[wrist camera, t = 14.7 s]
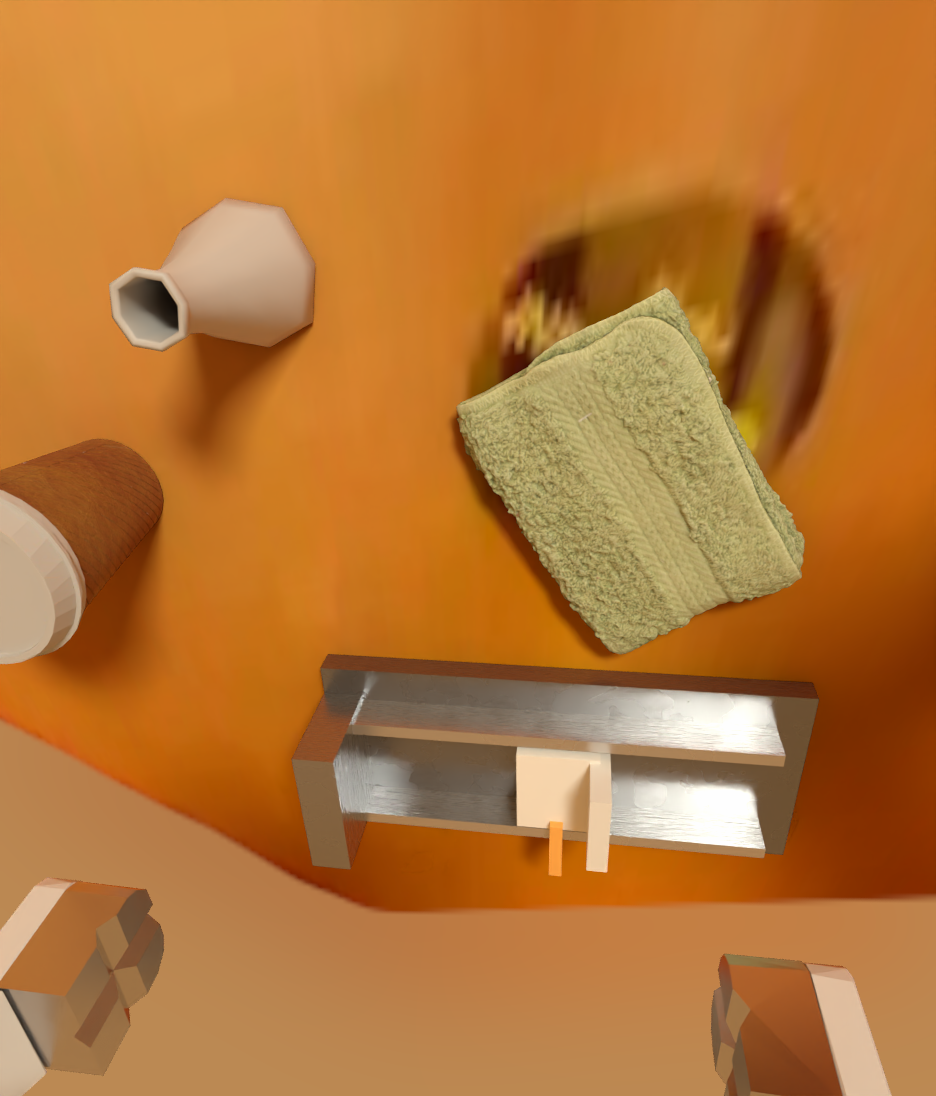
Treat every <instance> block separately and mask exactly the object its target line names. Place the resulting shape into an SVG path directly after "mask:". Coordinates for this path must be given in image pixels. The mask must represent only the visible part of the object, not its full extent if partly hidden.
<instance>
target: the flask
mask: <svg viewBox="0 0 936 1096" xmlns="http://www.w3.org/2000/svg"><path fill="white" fill-rule="evenodd" d="M314 282H315V262H314V261H313V259H312V257H311V256H310V254H309V252H308V250H307V249H306V247H305V245H304V244H303V242H302V240H301V238H300V237H299V235H298V233H297V231H296V230H295V228H294V226H293V225H292V223H291V221H290V219H289V218H288V216H287V214H286V213H285V211H284V209H283V208H282V207H276V206H270V205H264V204H258V203H252V202H246V201H241V200H235V199H229V198H225V199H224V200H222V201H221V202H219V203H218V204H216V205H215V206H214V207H212V208H211V209H209V210H208V211H206V212H205V213H203V214H202V215H201V216H199V217H198V218H196V219H195V220H193V221H192V222H191V223H189V224H188V225H186V226H185V227H183V228H182V230H181V231H180V233H179V235H178V237H177V239H176V241H175V243H174V246H173V248H172V250H171V252H170V253H169V255H168V257H167V258H166V260H165V261H164V263H163V265H162V266H161V268H160V269H159V270H149V269H144V268H138V267H134V268H132V269H130V270H129V271H127V272H126V273H125V274H123V275H122V276H120V277H119V278H117V279H116V280H114V281H113V282H112V283H110V284H109V289H110V300H111V310H112V318H113V319H114V321H115V322H116V323H117V325H118V326H119V328H120V329H121V331H122V332H123V333H124V335H125V336H126V338H127V339H128V341H129V342H130V343H131V345H132V346H135V347H140V348H145V349H151V350H156V351H162V352H163V351H165V350H167V349H169V348H170V347H172V346H173V345H175V344H177V343H178V342H180V341H181V340H183V339H185V338H186V337H188V336H189V335H190V334H193V333H203V334H206V335H209V336H212V337H216V338H221V339H227V340H232V341H237V342H243V343H248V344H254V345H259V346H265V347H271V346H273V345H275V344H277V343H278V342H280V341H282V340H283V339H285V338H287V337H288V336H290V335H292V334H294V333H295V332H297V331H299V330H300V329H302V328H304V327H305V326H307V325H309V324H311V323H312V322H313V308H314Z"/></svg>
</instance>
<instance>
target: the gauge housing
mask: <svg viewBox="0 0 936 1096" xmlns="http://www.w3.org/2000/svg"><path fill="white" fill-rule="evenodd" d="M321 674H322V680H323V686H324V695H323V697H322V699H321V701H320V703H319V705H318V707H317V709H316V711H315V713H314V715H313V717H312V719H311V721H310V723H309V725H308V727H307V729H306V731H305V733H304V735H303V737H302V739H301V741H300V743H299V745H298V747H297V749H296V751H295V753H294V755H293V757H292V764H293V769H294V774H295V779H296V784H297V789H298V794H299V799H300V804H301V809H302V814H303V819H304V824H305V829H306V834H307V839H308V844H309V849H310V854H311V859H312V864H313V866H322V867H331V868H341V869H351V867H352V864H353V861H354V858H355V856H356V853H357V850H358V847H359V844H360V841H361V838H362V835H363V832H364V829H365V826H366V823H367V821H370V822H381V823H392V824H403V825H413V826H424V827H435V828H445V829H456V830H467V831H477V832H488V833H499V834H510V835H520V836H531V837H542V838H550V829H546V828H535V827H524V826H517V782H516V753H517V747H530V748H543V749H556V750H569V751H583V752H596V753H609V754H610V757H611V790H612V809H611V823H610V837H609V844H617V845H627V846H638V847H649V848H659V849H670V850H681V851H692V852H702V853H713V854H724V855H734V856H745V857H756V858H764V855H765V853H768V854H779V855H783V853H784V849H785V844H786V840H787V836H788V832H789V827H790V823H791V819H792V814H793V810H794V806H795V801H796V797H797V793H798V788H799V784H800V780H801V776H802V771H803V767H804V763H805V758H806V754H807V750H808V745H809V741H810V737H811V733H812V728H813V724H814V720H815V715H816V711H817V707H818V702H819V697H818V695H817V692H816V690H815V688H814V685H813V683H807V682H790V681H773V680H756V679H739V678H722V677H705V676H688V675H671V674H654V673H637V672H620V671H603V670H586V669H569V668H552V667H535V666H518V665H501V664H484V663H467V662H451V661H434V660H417V659H400V658H383V657H366V656H349V655H332V654H328V655H327V657H326V659H325V661H324V663H323V664H322V666H321ZM562 839H563V840H574V841H585V842H587V832H579V831H568V830H563V835H562Z"/></svg>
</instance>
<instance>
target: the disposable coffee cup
mask: <svg viewBox="0 0 936 1096" xmlns="http://www.w3.org/2000/svg"><path fill="white" fill-rule="evenodd" d="M162 508H163V495H162V489H161V486H160V483H159V481H158V479H157V477H156V475H155V473H154V471H153V470H152V469H151V468H150V466H149V465H148V464H147V462H146V461H145V460H144V459H143V458H141V457H140V456H139V455H138V454H137V453H136V452H134V451H133V450H132V449H130V448H128V447H126V446H124V445H122V444H120V443H117V442H115V441H111V440H104V439H91V440H88V441H85V442H82V443H80V444H77V445H74V446H71V447H68V448H65V449H62V450H59V451H56V452H53V453H50V454H47V455H44V456H41V457H38V458H35V459H32V460H30V461H27V462H24V463H21V464H18V465H15V466H12V467H9V468H6V469H3V470H0V664H12V663H18V662H23V661H26V660H28V659H31V658H33V657H36V656H40V655H45V654H48V653H51V652H53V651H55V650H57V649H59V648H60V647H62V646H63V645H64V644H65V643H66V642H67V641H68V640H69V639H70V638H71V637H72V636H73V634H74V633H75V632H76V630H77V629H78V626H79V623H80V620H81V617H82V614H83V611H84V610H85V609H86V607H87V605H88V604H90V603H91V601H92V600H93V598H94V597H96V595H97V594H98V592H99V590H101V589H102V588H103V587H104V585H105V584H106V583H107V582H108V580H109V579H110V578H111V577H112V576H113V574H114V573H115V571H117V570H118V568H119V567H120V565H121V564H122V563H123V562H124V561H125V559H126V558H127V557H128V556H129V555H130V553H131V552H132V551H133V550H134V548H135V547H136V546H137V545H138V544H139V542H140V541H141V540H142V539H143V537H144V536H145V535H146V534H147V533H148V531H149V530H150V529H151V528H152V527H153V525H154V524H155V523H156V522H157V520H158V519H159V517H160V515H161V512H162Z"/></svg>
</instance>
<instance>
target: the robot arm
mask: <svg viewBox="0 0 936 1096" xmlns="http://www.w3.org/2000/svg"><path fill="white" fill-rule="evenodd" d="M152 905H153V904H152V901H151V899H150V897H149V894H148V892H147V890H146V889H138V888H130V887H121V886H112V885H105V884H97V883H88V882H82V881H76V880H67V879H58V878H46V879H44V880H43V881H41V882H40V883H39V884H37V885H36V886H34V887H33V889H32V890H31V891H30V892H29V894H28V895H27V897H26V898H25V899H24V900H23V902H22V903H21V904H20V905H19V907H18V908H17V909H16V911H15V912H14V913H13V914H12V916H11V917H10V918H9V920H8V921H7V922H6V924H5V925H4V926H3V927H2V929H1V930H0V1096H22V1095H23V1094H24V1093H26V1092H27V1091H28V1090H29V1089H30V1088H31V1087H32V1086H33V1085H34V1084H35V1083H36V1082H37V1081H39V1080H40V1079H41V1078H42V1077H43V1076H44V1075H45V1074H46V1073H47V1071H46V1069H52V1070H60V1071H69V1072H78V1073H86V1074H94V1075H102V1076H103V1075H104V1074H105V1072H106V1070H107V1068H108V1066H109V1064H110V1063H111V1061H112V1059H113V1057H114V1055H115V1053H116V1051H117V1049H118V1047H119V1046H120V1044H121V1042H122V1040H123V1038H124V1037H125V1035H126V1033H127V1031H128V1029H129V1027H130V1015H129V1008H130V1007H131V1006H132V1005H133V1004H135V1003H136V1002H137V1001H139V1000H140V999H141V998H142V997H143V996H145V995H146V994H147V993H148V991H149V990H150V987H151V986H152V984H153V981H154V980H155V978H156V976H157V974H158V971H159V967H160V963H161V960H162V956H163V952H164V935H163V932H162V929H161V926H160V924H159V923H158V922H157V921H155V920H154V919H153V918H152V917H151V916H150V915H148V912H149V910H150V908H151V906H152ZM718 972H719V979H720V986H721V987H720V988H718V989H717V990H715V991H714V995H713V1002H712V1013H711V1033H712V1046H713V1055H714V1062H715V1070H716V1072H717V1073H718V1075H719V1076H720V1077H721V1079H722V1080H723V1081H724V1083H725V1084H726V1088H725V1093H724V1096H892V1095H891V1092H890V1089H889V1086H888V1083H887V1080H886V1077H885V1074H884V1070H883V1067H882V1064H881V1061H880V1058H879V1055H878V1052H877V1049H876V1046H875V1043H874V1040H873V1037H872V1033H871V1030H870V1027H869V1024H868V1021H867V1018H866V1015H865V1012H864V1009H863V1006H862V1003H861V1000H860V997H859V993H858V990H857V987H856V984H855V981H854V978H853V977H852V975H851V974H850V972H849V971H848V970H847V969H846V968H844V967H843V966H833V965H823V964H813V963H802V961H794V960H784V959H773V958H762V957H752V956H741V955H730V954H724V955H723V956H722V957H721V959H720V964H719V968H718Z"/></svg>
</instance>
